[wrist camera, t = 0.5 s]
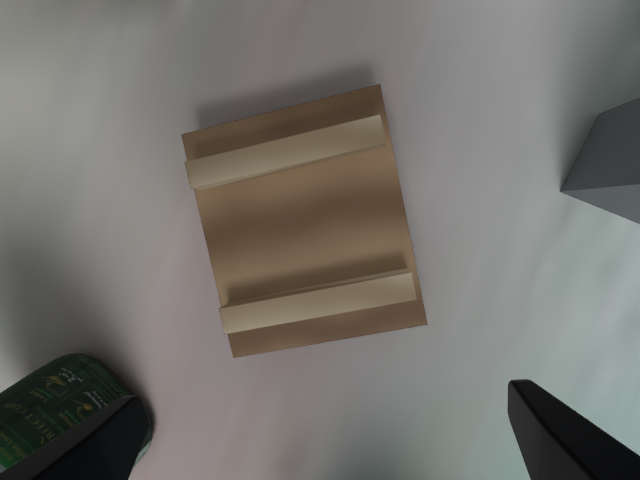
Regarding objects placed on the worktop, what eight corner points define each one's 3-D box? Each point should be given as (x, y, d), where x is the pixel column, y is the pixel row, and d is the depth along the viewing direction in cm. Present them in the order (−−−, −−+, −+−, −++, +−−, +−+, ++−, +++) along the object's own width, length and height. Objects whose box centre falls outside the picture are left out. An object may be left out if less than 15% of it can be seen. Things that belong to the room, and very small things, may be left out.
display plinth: (419, 312, 23) (433, 333, 19) (245, 342, 24) (224, 368, 20) (377, 98, 22) (382, 73, 18) (199, 142, 23) (167, 128, 19)
